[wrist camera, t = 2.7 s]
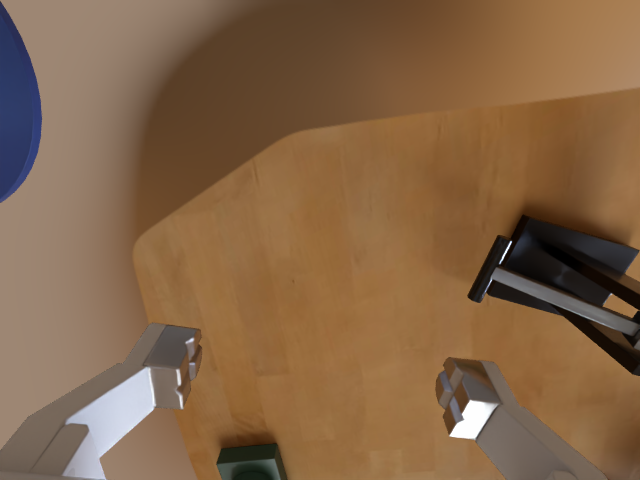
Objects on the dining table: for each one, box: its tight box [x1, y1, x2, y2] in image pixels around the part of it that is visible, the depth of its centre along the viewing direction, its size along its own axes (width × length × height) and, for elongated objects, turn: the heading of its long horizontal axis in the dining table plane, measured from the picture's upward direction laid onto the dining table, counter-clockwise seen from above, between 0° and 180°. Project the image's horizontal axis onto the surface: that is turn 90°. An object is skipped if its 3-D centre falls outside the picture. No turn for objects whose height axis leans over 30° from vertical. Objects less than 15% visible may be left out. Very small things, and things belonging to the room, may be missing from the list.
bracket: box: [486, 215, 640, 376], centre depth 29 cm, size 12×9×14 cm
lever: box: [467, 235, 640, 351], centre depth 26 cm, size 14×6×2 cm, turn 74°
